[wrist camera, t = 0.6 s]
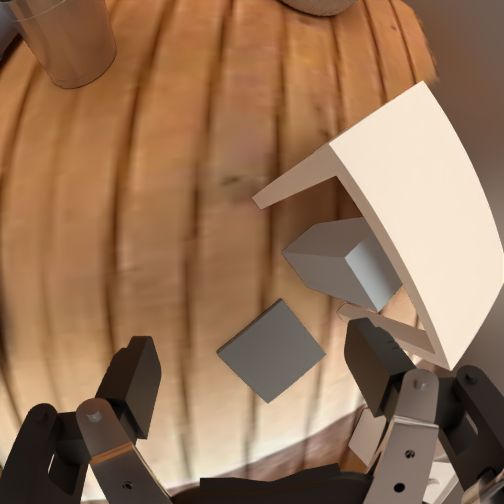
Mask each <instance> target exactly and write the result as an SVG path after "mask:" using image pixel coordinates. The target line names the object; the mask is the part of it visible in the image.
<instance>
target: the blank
mask: <svg viewBox="0 0 504 504" xmlns="http://www.w3.org/2000/svg"><path fill="white" fill-rule="evenodd" d="M281 253H282V254H283V256H284V257H285V258H286V260H287V261H288V262H289V264H290V265H291V266H292V268H293V269H294V270H295V272H296V273H297V274H298V276H299V277H300V278H301V280H302V281H303V282H304V284H305V285H306V286H307V287H308V288H311V289H313V290H316V291H319V292H322V293H325V294H328V295H330V296H333V297H336V298H339V299H342V300H345V301H348V302H351V303H353V304H356V305H359V306H362V307H365V308H368V309H371V310H374V311H377V312H379V311H380V310H381V309H382V308H383V307H384V305H385V304H386V303H387V302H388V301H389V300H390V299H391V298H392V296H393V295H394V294H395V293H396V292H397V291H398V290H399V288H400V287H401V286H402V285H403V284H402V282H401V280H400V278H399V276H398V274H397V272H396V271H395V269H394V267H393V265H392V263H391V261H390V260H389V258H388V256H387V254H386V253H385V251H384V249H383V247H382V246H381V244H380V242H379V241H378V239H377V237H376V236H375V234H374V232H373V231H372V229H371V227H370V226H369V224H368V223H367V221H366V219H365V218H364V217H358V218H351V219H344V220H337V221H331V222H324V223H317V224H314V225H312V226H311V227H310V228H309V229H308V230H307V231H305V232H304V233H303V234H302V235H301V236H300V237H298V238H297V239H296V240H295V241H294V242H293V243H291V244H290V245H289V246H288V247H287V248H286V249H284V250H283V251H282V252H281Z"/></svg>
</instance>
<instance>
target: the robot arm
mask: <svg viewBox="0 0 504 504" xmlns="http://www.w3.org/2000/svg"><path fill="white" fill-rule="evenodd" d="M0 4H1V6H2V7H3V9H4V10H5V12H6V14H7V15H8V17H9V18H10V19H11V21H12V23H13V24H14V26H15V27H16V29H17V30H18V32H19V33H20V35H21V36H22V38H23V39H24V41H25V42H26V43H27V45H28V46H29V48H30V49H31V51H32V52H33V54H34V55H35V56H36V58H37V59H38V61H39V62H40V63H41V65H42V66H43V68H44V69H45V70H46V72H47V73H48V75H49V76H50V77H51V79H52V80H53V81H54V83H55V84H56V85H57V86H59V87H61V88H67V89H68V88H76V87H80V86H83V85H85V84H88V83H90V82H91V81H93V80H95V79H96V78H97V77H99V76H100V75H101V74H102V73H104V72H105V71H106V70H107V69H108V67H109V66H110V65H111V63H112V62H113V60H114V58H115V55H116V44H115V40H114V36H113V31H112V27H111V24H110V20H109V16H108V12H107V8H106V4H105V0H0ZM344 357H345V361H346V363H347V365H348V367H349V369H350V371H351V373H352V375H353V377H354V379H355V381H356V383H357V385H358V387H359V389H360V391H361V393H362V395H363V397H364V399H365V401H366V403H367V405H368V407H369V409H370V411H371V413H372V415H373V417H374V418H377V417H380V416H383V415H384V416H385V418H386V422H385V424H384V427H383V429H382V432H381V435H380V438H379V441H378V443H377V446H376V449H375V451H374V454H373V456H372V459H371V461H370V463H369V465H368V467H367V469H366V471H365V473H361V472H356V471H348V470H340V469H339V466H338V463H334V464H330V465H326V466H321V467H316V468H311V469H305V470H303V471H300V472H298V473H295V474H292V475H290V476H287V477H284V478H281V479H278V480H275V481H271V482H266V481H257V480H249V479H242V478H235V477H229V478H200V486H195V487H191V488H188V489H185V490H183V491H180V492H178V493H177V494H175V495H173V496H172V497H171V496H170V494H169V493H168V492H167V491H166V489H165V488H164V487H163V486H162V484H161V483H160V482H159V480H158V479H157V478H156V476H155V475H154V473H153V472H152V470H151V469H150V468H149V466H148V465H147V463H146V462H145V460H144V459H143V457H142V456H141V454H140V452H139V451H138V449H137V448H136V446H135V445H136V441H137V439H147V437H148V432H149V427H150V423H151V418H152V414H153V410H154V405H155V401H156V397H157V393H158V388H159V384H160V380H161V366H160V362H159V359H158V356H157V352H156V349H155V346H154V342H153V339H152V337H151V336H133V337H132V338H131V340H130V342H129V345H128V347H127V348H121V349H120V350H119V351H118V352H117V353H116V354H115V355H114V356H113V358H112V360H111V363H110V366H109V367H108V369H107V373H105V375H104V377H103V380H102V382H101V384H100V386H99V388H98V391H97V393H96V395H95V398H92V399H88V400H86V401H84V402H83V403H81V404H80V405H79V407H78V408H77V410H76V411H75V412H66V413H58V412H57V411H56V409H55V408H54V407H53V406H52V405H50V404H47V403H41V404H38V405H36V406H34V407H33V408H32V409H30V411H29V412H28V414H27V416H26V418H25V420H24V422H23V424H22V426H21V429H20V431H19V433H18V435H17V437H16V440H15V442H14V444H13V447H12V449H11V451H10V454H9V456H8V459H7V461H6V464H5V467H4V469H3V472H2V475H1V477H0V504H80V502H81V496H82V491H83V487H84V482H85V477H86V473H87V469H88V464H90V466H91V468H92V471H93V473H94V475H95V477H96V479H97V481H98V483H99V485H100V487H101V489H102V491H103V493H104V495H105V497H106V499H107V501H108V502H109V504H429V503H427V502H425V501H423V497H424V494H425V491H426V487H427V483H428V480H429V476H430V472H431V468H432V463H433V459H434V454H435V449H436V443H437V438H438V439H439V441H440V443H441V445H442V447H443V449H444V451H445V453H446V455H447V457H448V459H449V461H450V463H451V465H452V467H453V469H454V471H455V473H456V475H457V477H458V479H459V481H460V483H461V486H462V488H463V490H464V492H465V493H464V495H463V498H462V504H504V397H503V396H502V395H501V394H500V392H499V391H498V389H497V388H496V387H495V386H494V384H493V383H492V382H491V381H490V380H489V378H488V377H487V376H486V375H485V374H484V372H483V371H482V370H481V369H479V368H478V367H475V366H471V365H466V366H462V367H461V368H459V369H458V371H457V373H456V375H455V377H449V378H437V377H436V375H435V374H434V373H432V372H431V371H429V370H426V369H421V368H416V366H415V365H414V364H413V362H412V361H411V360H410V359H409V357H408V356H407V355H406V353H405V352H404V351H403V350H402V348H400V346H399V344H398V343H397V342H395V339H394V338H393V337H392V336H391V334H390V333H389V332H387V331H386V330H384V329H382V328H381V327H375V326H374V325H373V323H372V322H371V321H370V319H369V318H367V317H364V318H358V319H352V320H350V321H349V322H348V327H347V334H346V341H345V347H344ZM467 414H469V416H470V417H471V419H472V420H473V422H474V424H475V425H476V427H477V429H478V436H477V434H476V433H475V431H474V429H473V428H472V426H471V425H470V423H469V421H468V420H467V418H466V416H467ZM53 454H54V457H53ZM52 457H53V460H52ZM51 460H52V464H51V467H50V470H49V473H48V469H49V466H50V463H51Z"/></svg>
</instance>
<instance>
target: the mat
mask: <svg viewBox="0 0 504 504" xmlns="http://www.w3.org/2000/svg"><path fill="white" fill-rule="evenodd" d="M217 355H218V356H219V357H220V358H221V359H222V360H223V361H224V362H225V363H226V364H227V365H228V366H229V367H230V368H231V369H232V370H233V371H234V372H235V373H236V374H237V375H238V376H239V377H240V378H241V379H242V380H243V381H244V382H245V383H246V384H247V385H248V386H250V387H251V388H252V389H253V390H254V391H255V392H256V393H257V394H258V395H259V396H260V397H261V398H262V399H263V400H264V401H265V402H267V403H269V402H271V401H272V400H273V399H275V398H276V397H277V396H278V395H280V394H281V393H282V392H283V391H285V390H286V389H287V388H288V387H289V386H291V385H292V384H293V383H294V382H295V381H297V380H298V379H299V378H300V377H301V376H303V375H304V374H305V373H306V372H307V371H308V370H309V369H311V368H312V367H313V366H314V365H315V364H316V363H317V362H318V361H320V360H321V359H322V358H323V357H324V356H325V355H326V353H325V352H324V351H323V350H322V348H321V347H320V346H319V345H318V343H317V342H316V341H315V340H314V338H313V337H312V336H311V335H310V333H309V332H308V331H307V330H306V328H305V327H304V326H303V325H302V323H301V322H300V321H299V320H298V318H297V317H296V316H295V315H294V313H293V312H292V311H291V310H290V308H289V307H288V306H287V305H286V303H285V302H284V301H283V300H282V299H279V300H278V301H277V302H276V303H274V304H273V305H272V306H271V307H270V308H269V309H267V310H266V311H265V312H264V313H263V314H262V315H260V316H259V317H258V318H257V319H256V320H254V321H253V322H252V323H251V324H250V325H248V326H247V327H246V328H245V329H244V330H242V331H241V332H240V333H239V334H238V335H236V336H235V337H234V338H233V339H231V340H230V341H229V342H228V343H227V344H225V345H224V346H223V347H222V348H220V349H219V350H218V351H217Z"/></svg>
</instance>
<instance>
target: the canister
mask: <svg viewBox="0 0 504 504" xmlns="http://www.w3.org/2000/svg"><path fill="white" fill-rule="evenodd" d="M281 1H283V2H284V3H285V4H288V5H289V6H291V7H293V8H295V9H298V10H300V11H303V12H305V13H310V14H312V15H317V16H320V15H321V16H331V15H336V14H338V13H341V12H343V11H345V10H346V9H347V8H349V7H350V6H351V5H352V4H354V3H355V2H356V1H357V0H281Z"/></svg>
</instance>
